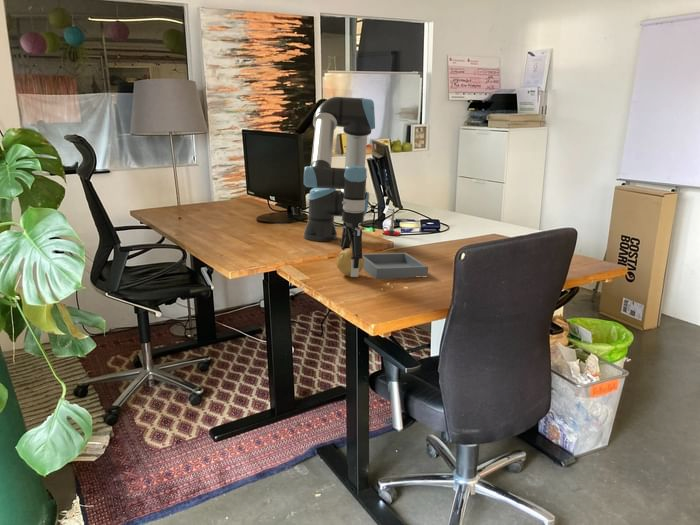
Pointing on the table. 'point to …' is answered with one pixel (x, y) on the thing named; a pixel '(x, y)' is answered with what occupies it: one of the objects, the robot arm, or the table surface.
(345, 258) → the stress ball
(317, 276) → the table surface
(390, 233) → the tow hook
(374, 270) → the tray
